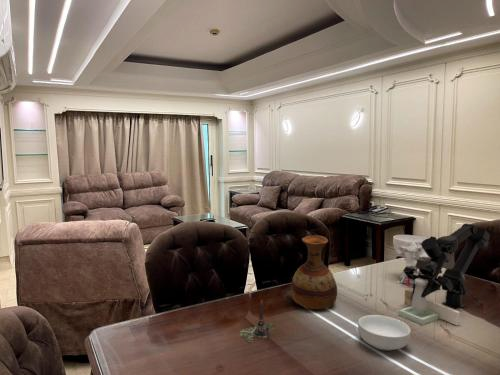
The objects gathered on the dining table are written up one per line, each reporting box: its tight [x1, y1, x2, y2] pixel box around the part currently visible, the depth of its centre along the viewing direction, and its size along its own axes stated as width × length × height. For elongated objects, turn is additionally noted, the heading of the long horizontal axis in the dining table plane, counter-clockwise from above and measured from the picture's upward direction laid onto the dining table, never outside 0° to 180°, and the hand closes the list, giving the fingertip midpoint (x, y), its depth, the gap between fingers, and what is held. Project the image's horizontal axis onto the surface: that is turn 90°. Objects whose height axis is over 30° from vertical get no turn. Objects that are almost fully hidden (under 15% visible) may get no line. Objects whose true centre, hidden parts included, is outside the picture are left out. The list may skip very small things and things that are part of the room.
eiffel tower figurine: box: [238, 300, 276, 343], centre depth 131 cm, size 15×10×13 cm
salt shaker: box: [411, 278, 427, 313], centre depth 147 cm, size 6×6×13 cm
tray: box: [398, 306, 439, 326], centre depth 147 cm, size 10×10×2 cm
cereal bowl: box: [357, 314, 412, 351], centre depth 124 cm, size 17×17×7 cm
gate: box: [426, 298, 461, 326], centre depth 149 cm, size 2×20×5 cm, turn 27°
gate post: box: [403, 288, 413, 307], centre depth 160 cm, size 3×3×7 cm
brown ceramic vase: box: [290, 234, 338, 310], centre depth 158 cm, size 20×20×30 cm
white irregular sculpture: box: [392, 234, 430, 287], centre depth 187 cm, size 25×19×23 cm
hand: (417, 295), depth 146 cm, fingers closed on salt shaker, 3 cm apart
